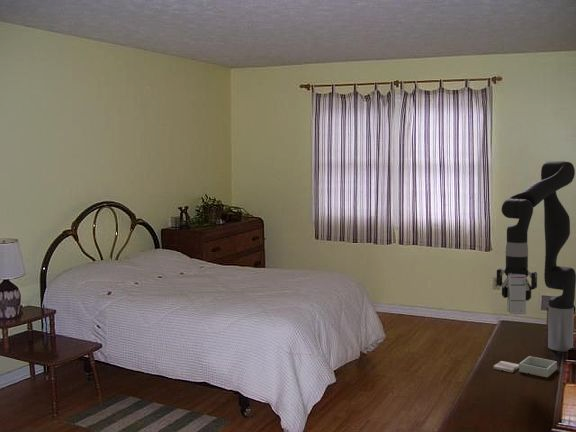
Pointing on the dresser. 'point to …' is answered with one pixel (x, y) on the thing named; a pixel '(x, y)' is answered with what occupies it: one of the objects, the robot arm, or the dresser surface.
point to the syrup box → (516, 294)
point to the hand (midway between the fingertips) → (516, 298)
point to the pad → (506, 366)
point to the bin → (527, 368)
